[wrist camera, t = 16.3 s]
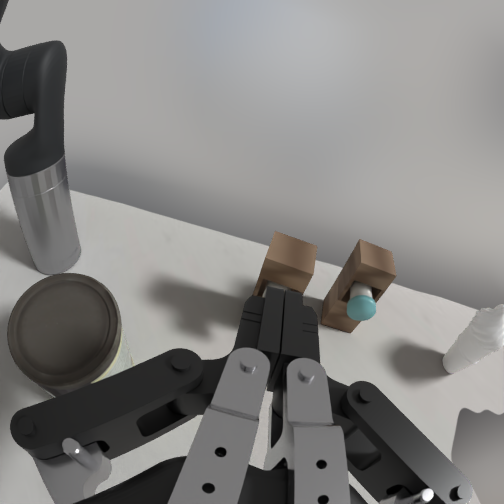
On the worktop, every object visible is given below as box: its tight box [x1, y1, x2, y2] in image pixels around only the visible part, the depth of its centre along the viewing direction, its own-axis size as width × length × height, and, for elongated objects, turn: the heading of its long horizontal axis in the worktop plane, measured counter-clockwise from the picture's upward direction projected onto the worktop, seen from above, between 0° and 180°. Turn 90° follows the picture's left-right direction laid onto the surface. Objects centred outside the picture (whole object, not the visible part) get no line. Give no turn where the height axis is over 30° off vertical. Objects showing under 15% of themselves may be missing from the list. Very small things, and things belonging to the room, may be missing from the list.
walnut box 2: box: [321, 239, 396, 333], centre depth 37 cm, size 5×5×13 cm
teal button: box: [347, 280, 376, 321], centre depth 35 cm, size 4×7×4 cm, turn 164°
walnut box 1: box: [253, 232, 317, 297], centre depth 34 cm, size 5×5×13 cm
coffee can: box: [7, 273, 135, 398], centre depth 21 cm, size 10×10×14 cm
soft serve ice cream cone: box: [442, 304, 504, 374], centre depth 32 cm, size 8×8×16 cm
